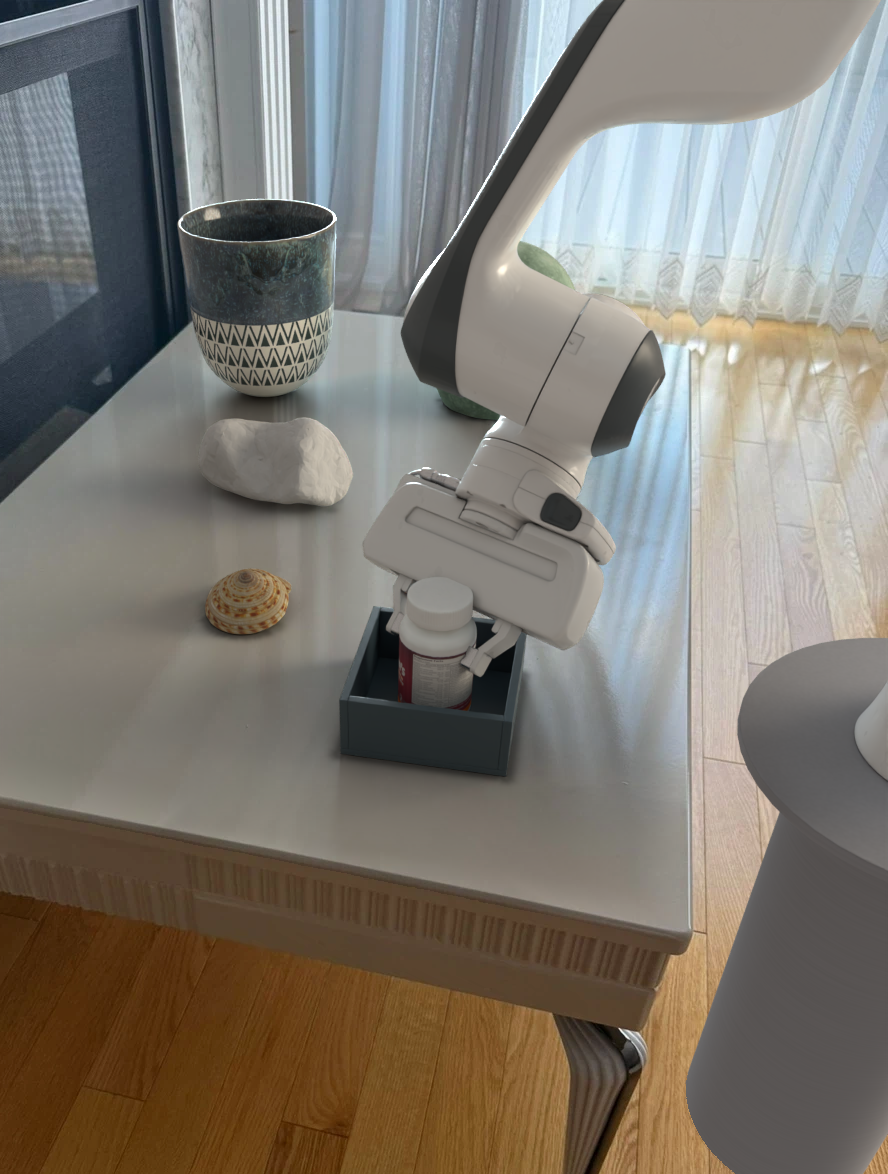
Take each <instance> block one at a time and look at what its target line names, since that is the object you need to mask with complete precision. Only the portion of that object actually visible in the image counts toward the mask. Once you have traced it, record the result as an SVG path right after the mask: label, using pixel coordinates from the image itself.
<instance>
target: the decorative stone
mask: <svg viewBox="0 0 888 1174" xmlns="http://www.w3.org/2000/svg"><path fill="white" fill-rule="evenodd" d="M197 457H198V459H197V460H198V467H199V471H200V473H201V475H202V476H203V478H205V479H206V480H207V481H208V482H209V483H210V484H211V485H213V486H215V487H217V488H220V489H222V490H225V491H227V492H230V493H234V495H239V496H241V497H243V498H247V499H250V500H253V501H261V502H267V503H268V502H269V503H276V504H281V505H282V504H283V505H292V504H304V505H311V506H318V507H322V508H323V507H330V506H333V505H334V504H336V503H338V502H340V501H341V500H342V499H343V498H345V496H346V495H347V493H348V492H349V488H350V486H351V483H352V480H353V477H354V472H353V468H352V465H351V461H350V460H349V457H348V455H347V452H346V450H344V448H343V446H342V444H341V442H340V441H339V439H338V438H337V436H336V435H335V434H334V432H332V431H331V429H329V428H328V427H327V426H326V425H324V424H322V423H321V422H320V421H319V420H316V419H315V418H312V417H305V416H304V417H303V416H302V417H297V418H294V419H293V420H289V421H286V422H285V421H284V422H270V421H269V422H268V421H259V420H249V419H243V418H234V417H233V418H224V419H220V420H217V421H215V422H214V423H212V424H211V425H210V426H209V427H208V428H207V429H206V430H205V432H204V434H203V437H202V440H201V442H200V445H199V450H198V456H197Z"/></svg>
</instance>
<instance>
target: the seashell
mask: <svg viewBox="0 0 888 1174" xmlns="http://www.w3.org/2000/svg"><path fill="white" fill-rule="evenodd" d="M291 591H292V584H291V583H290V581H288V580H287V579H285V578H284V577H281V576H279V575H276V574H272V573H271V572H269V571H266V570H264V569H261V568H242V569H238V570H235V571H233V572H232V573H230V574H227V575H226V576H224V577H222V578H221V579H219V580H218V581H217V582H215V584H213V586H212V587H211V589H210V590H209V592H208V594H207V598H206V600H205V605H204V607H205V609H204V611H205V615H206V616H205V617H206V618H207V619H208V621H209V622H210V624H211V625H212V626H214V627H215V628H216V629H218V630H220V631H223V632H225V633H229V634H234V635H251V634H256V633H259V632H262V631H265V630H267V629H269V628H271V627H273V626H275V625H276V624H277V623H278V622H279V621H280V620H282V619H283V617H284V616H285V615H286V613H287V609H288V606H289V601H290V600H289V599H290V598H289V597H290V595H289V594H290V593H291Z"/></svg>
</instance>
